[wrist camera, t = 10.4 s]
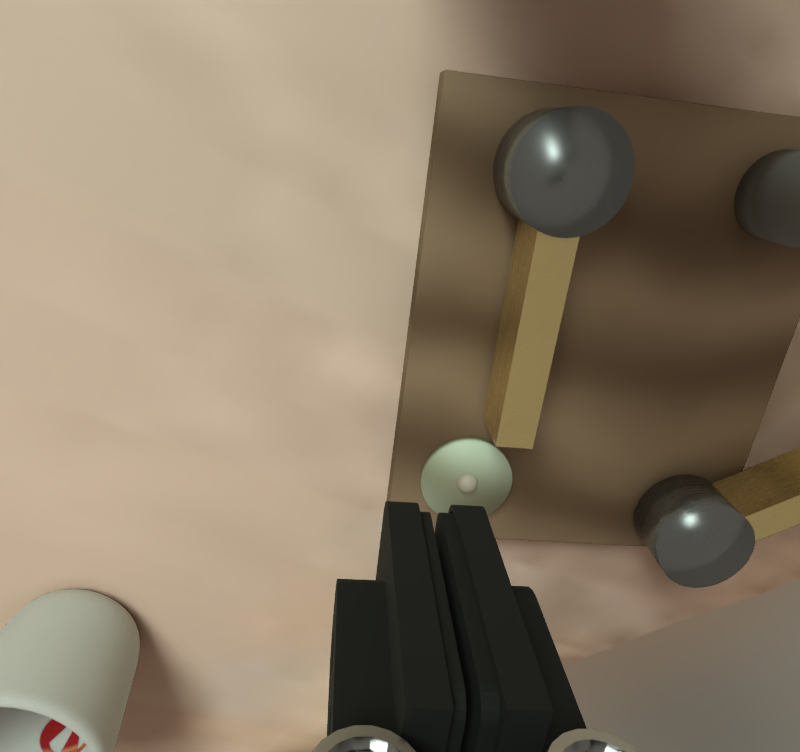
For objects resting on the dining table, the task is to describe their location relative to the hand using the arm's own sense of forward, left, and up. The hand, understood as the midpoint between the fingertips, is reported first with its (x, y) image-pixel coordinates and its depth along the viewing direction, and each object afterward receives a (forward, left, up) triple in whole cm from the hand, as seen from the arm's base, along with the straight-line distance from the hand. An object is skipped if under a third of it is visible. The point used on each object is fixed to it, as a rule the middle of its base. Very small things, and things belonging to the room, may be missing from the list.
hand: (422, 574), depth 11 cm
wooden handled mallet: (+7, +20, -17) cm, 27 cm away
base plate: (+1, +10, -19) cm, 21 cm away
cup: (+21, -15, -19) cm, 32 cm away
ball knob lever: (-2, +6, -17) cm, 18 cm away
